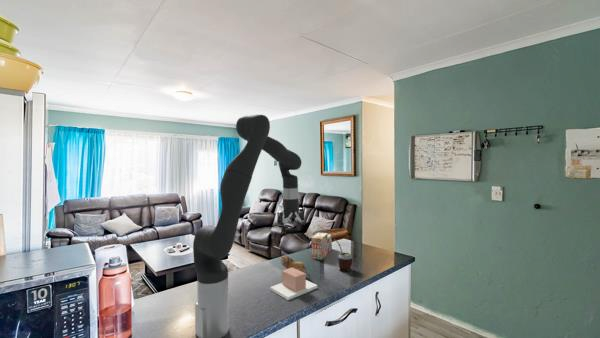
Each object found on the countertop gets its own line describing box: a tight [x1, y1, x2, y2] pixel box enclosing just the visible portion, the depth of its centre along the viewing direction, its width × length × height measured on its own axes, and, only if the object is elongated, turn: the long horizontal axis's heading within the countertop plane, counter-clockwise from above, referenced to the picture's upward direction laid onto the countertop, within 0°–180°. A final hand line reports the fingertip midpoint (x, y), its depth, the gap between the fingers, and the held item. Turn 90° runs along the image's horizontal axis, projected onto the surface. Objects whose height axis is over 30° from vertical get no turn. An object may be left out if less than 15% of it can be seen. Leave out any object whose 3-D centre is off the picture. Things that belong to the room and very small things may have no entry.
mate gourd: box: [334, 238, 353, 274], centre depth 134 cm, size 8×8×15 cm
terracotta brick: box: [281, 268, 307, 292], centre depth 114 cm, size 6×9×6 cm, turn 41°
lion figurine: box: [280, 255, 311, 277], centre depth 128 cm, size 15×5×9 cm, turn 74°
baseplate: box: [269, 279, 318, 301], centre depth 114 cm, size 16×12×1 cm
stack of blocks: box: [310, 232, 333, 261], centre depth 160 cm, size 21×6×12 cm, turn 158°
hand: (291, 231), depth 126 cm, fingers open, 8 cm apart
